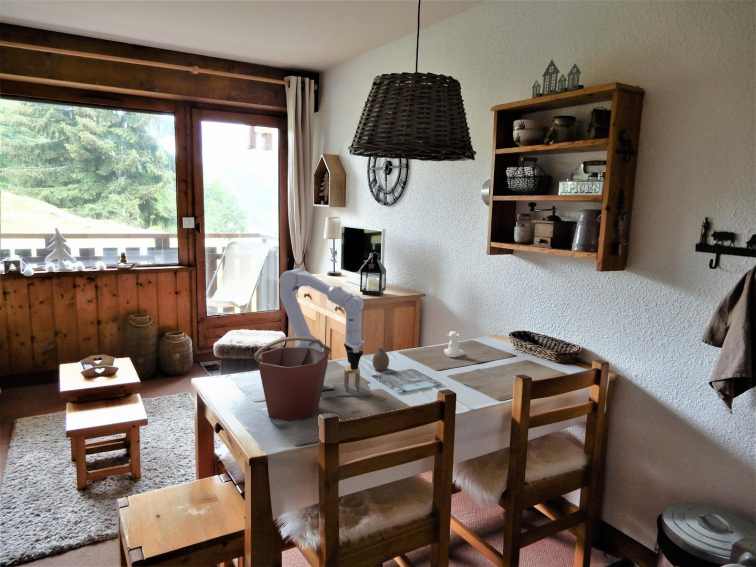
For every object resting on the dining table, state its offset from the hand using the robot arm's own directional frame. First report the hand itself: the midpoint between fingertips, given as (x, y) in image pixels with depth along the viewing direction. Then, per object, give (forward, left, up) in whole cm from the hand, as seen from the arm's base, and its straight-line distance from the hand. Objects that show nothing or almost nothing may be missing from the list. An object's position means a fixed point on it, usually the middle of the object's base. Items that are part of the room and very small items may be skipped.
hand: (352, 365), depth 186 cm
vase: (+15, +22, -10) cm, 28 cm away
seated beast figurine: (+52, +37, -10) cm, 65 cm away
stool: (0, 0, -9) cm, 9 cm away
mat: (0, 0, -9) cm, 9 cm away
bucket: (-22, -16, -10) cm, 29 cm away
